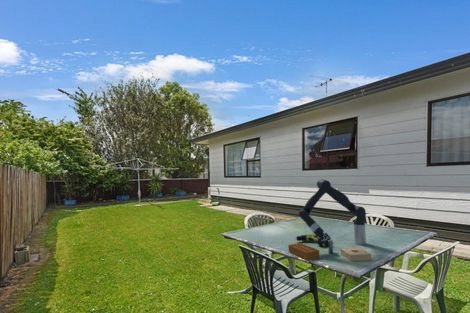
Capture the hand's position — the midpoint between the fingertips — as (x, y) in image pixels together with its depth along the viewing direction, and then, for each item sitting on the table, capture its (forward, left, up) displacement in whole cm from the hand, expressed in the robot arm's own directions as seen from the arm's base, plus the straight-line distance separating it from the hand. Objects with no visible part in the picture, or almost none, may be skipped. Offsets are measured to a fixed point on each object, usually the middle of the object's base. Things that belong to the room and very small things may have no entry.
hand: (330, 245), depth 223 cm
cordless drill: (-30, -6, -7) cm, 31 cm away
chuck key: (0, 0, -6) cm, 6 cm away
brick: (0, -23, -7) cm, 24 cm away
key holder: (+13, +14, -6) cm, 20 cm away
